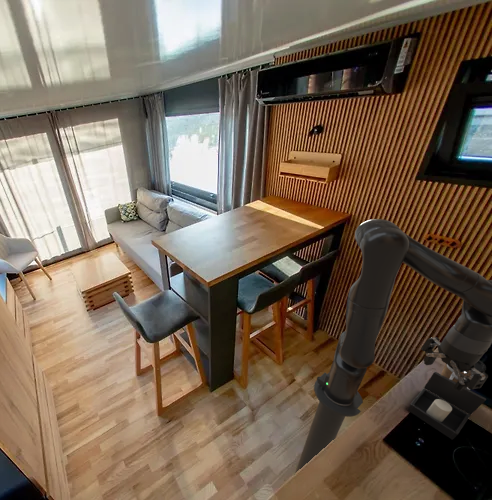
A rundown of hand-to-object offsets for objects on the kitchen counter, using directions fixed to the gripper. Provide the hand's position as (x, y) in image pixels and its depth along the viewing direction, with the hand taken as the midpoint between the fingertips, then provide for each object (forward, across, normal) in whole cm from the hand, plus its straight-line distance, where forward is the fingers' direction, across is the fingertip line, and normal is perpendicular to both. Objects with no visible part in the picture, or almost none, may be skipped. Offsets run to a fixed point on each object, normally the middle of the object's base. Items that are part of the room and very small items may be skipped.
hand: (441, 376), depth 81 cm
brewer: (+21, +2, +4) cm, 21 cm away
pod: (+20, +3, +3) cm, 20 cm away
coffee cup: (+21, -6, +18) cm, 28 cm away
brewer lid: (+11, +1, +7) cm, 13 cm away
